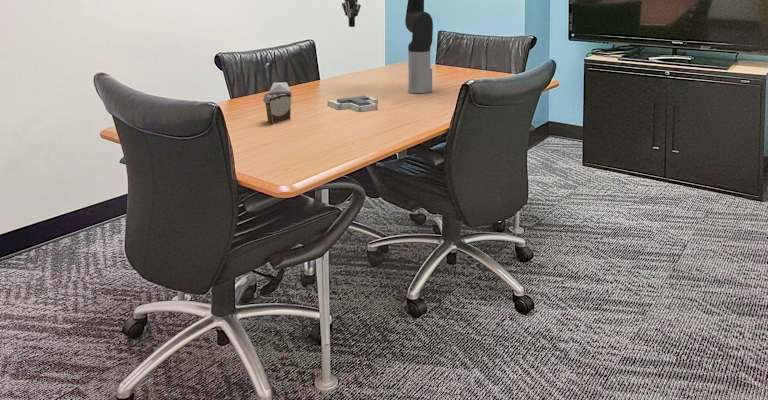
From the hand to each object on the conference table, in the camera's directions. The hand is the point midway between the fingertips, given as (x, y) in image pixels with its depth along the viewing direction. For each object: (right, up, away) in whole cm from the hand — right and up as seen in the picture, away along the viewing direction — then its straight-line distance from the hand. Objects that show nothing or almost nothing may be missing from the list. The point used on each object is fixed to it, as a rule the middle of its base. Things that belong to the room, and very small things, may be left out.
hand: (351, 26), depth 317 cm
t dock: (+3, -36, -22) cm, 43 cm away
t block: (+3, -37, -24) cm, 44 cm away
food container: (-26, -44, -43) cm, 67 cm away
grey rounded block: (-28, -34, -13) cm, 46 cm away
